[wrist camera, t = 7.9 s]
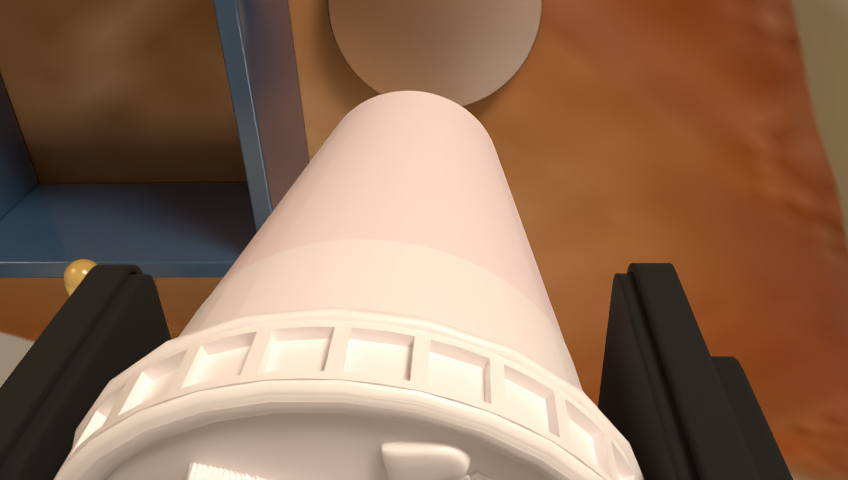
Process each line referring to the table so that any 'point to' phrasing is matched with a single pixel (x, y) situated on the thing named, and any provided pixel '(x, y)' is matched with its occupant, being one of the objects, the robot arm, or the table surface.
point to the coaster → (436, 43)
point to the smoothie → (367, 333)
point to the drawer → (167, 202)
